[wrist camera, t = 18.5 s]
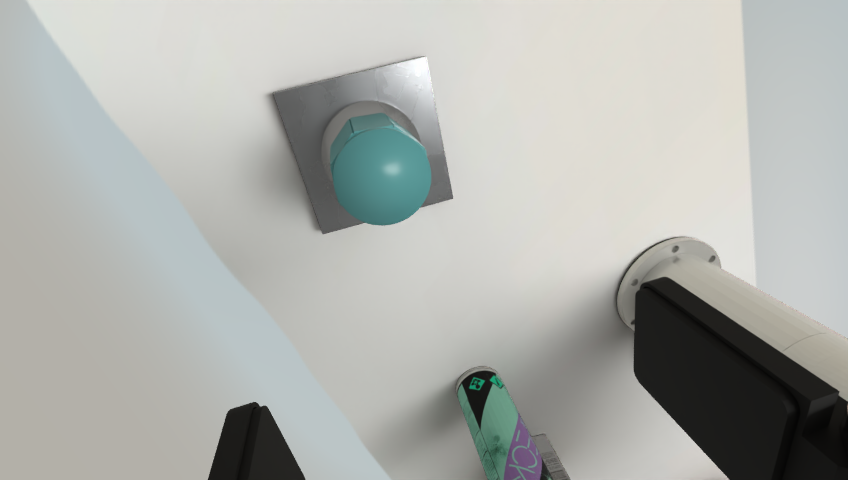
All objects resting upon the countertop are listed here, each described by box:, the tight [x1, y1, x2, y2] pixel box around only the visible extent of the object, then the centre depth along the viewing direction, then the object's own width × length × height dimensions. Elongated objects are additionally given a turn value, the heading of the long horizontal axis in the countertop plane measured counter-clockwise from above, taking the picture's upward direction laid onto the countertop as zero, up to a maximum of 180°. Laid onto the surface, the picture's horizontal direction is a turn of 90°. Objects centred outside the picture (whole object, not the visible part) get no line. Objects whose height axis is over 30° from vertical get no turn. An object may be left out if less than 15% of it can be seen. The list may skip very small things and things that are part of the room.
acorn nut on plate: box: [273, 56, 453, 234], centre depth 32 cm, size 12×12×8 cm
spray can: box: [456, 366, 553, 480], centre depth 40 cm, size 6×6×20 cm
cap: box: [330, 113, 431, 225], centre depth 30 cm, size 6×6×7 cm
